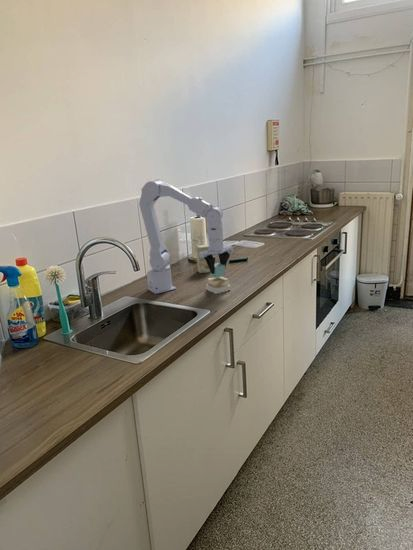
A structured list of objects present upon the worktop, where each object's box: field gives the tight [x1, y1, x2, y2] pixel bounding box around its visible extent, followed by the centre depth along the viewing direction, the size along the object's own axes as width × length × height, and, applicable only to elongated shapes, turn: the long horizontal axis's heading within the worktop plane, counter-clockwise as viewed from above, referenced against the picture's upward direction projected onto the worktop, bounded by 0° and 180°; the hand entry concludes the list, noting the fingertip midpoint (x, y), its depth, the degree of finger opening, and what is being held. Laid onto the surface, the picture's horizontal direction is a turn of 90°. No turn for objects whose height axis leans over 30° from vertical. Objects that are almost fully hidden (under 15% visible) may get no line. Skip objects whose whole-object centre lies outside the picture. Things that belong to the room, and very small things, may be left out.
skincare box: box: [196, 244, 210, 274], centre depth 191 cm, size 6×4×12 cm
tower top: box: [207, 276, 229, 288], centre depth 166 cm, size 6×6×2 cm
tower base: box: [206, 283, 231, 295], centre depth 167 cm, size 7×7×2 cm
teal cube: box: [209, 262, 226, 278], centre depth 165 cm, size 4×4×4 cm
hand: (217, 272), depth 165 cm, fingers closed on teal cube, 4 cm apart
